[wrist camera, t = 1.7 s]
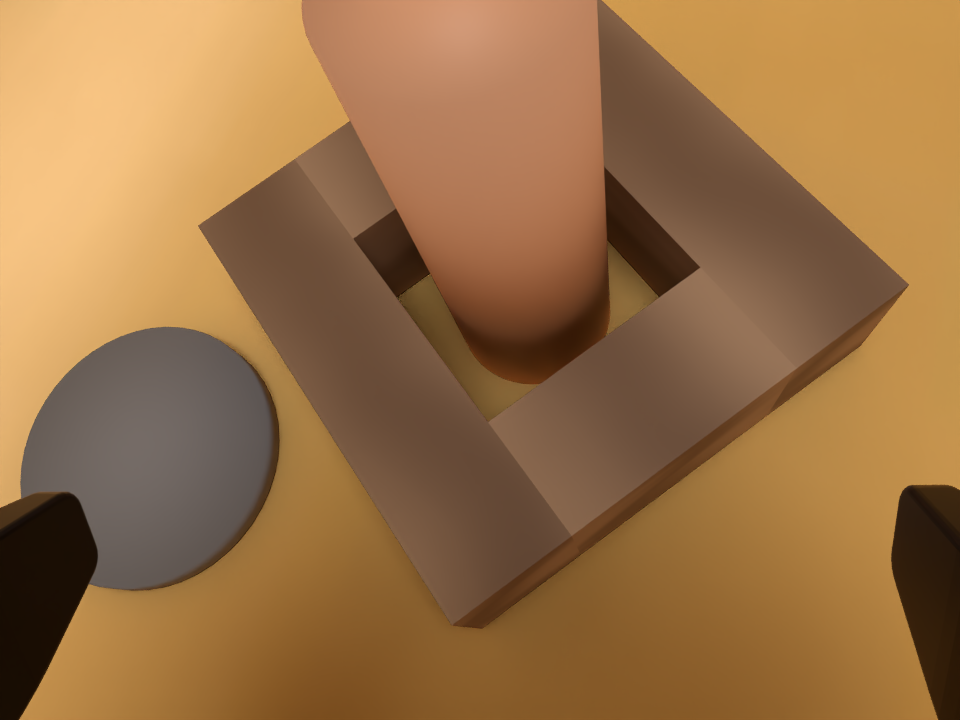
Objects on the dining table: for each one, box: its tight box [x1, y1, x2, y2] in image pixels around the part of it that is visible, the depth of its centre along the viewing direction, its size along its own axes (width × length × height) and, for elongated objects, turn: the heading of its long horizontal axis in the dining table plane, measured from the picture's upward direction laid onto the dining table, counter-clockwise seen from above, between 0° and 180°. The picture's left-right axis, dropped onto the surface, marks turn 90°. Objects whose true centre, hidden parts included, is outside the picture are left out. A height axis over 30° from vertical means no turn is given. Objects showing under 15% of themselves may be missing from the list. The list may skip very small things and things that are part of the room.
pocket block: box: [198, 0, 909, 628], centre depth 22 cm, size 13×13×4 cm
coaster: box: [20, 327, 279, 590], centre depth 24 cm, size 8×8×1 cm
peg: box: [302, 0, 610, 384], centre depth 18 cm, size 4×4×13 cm
